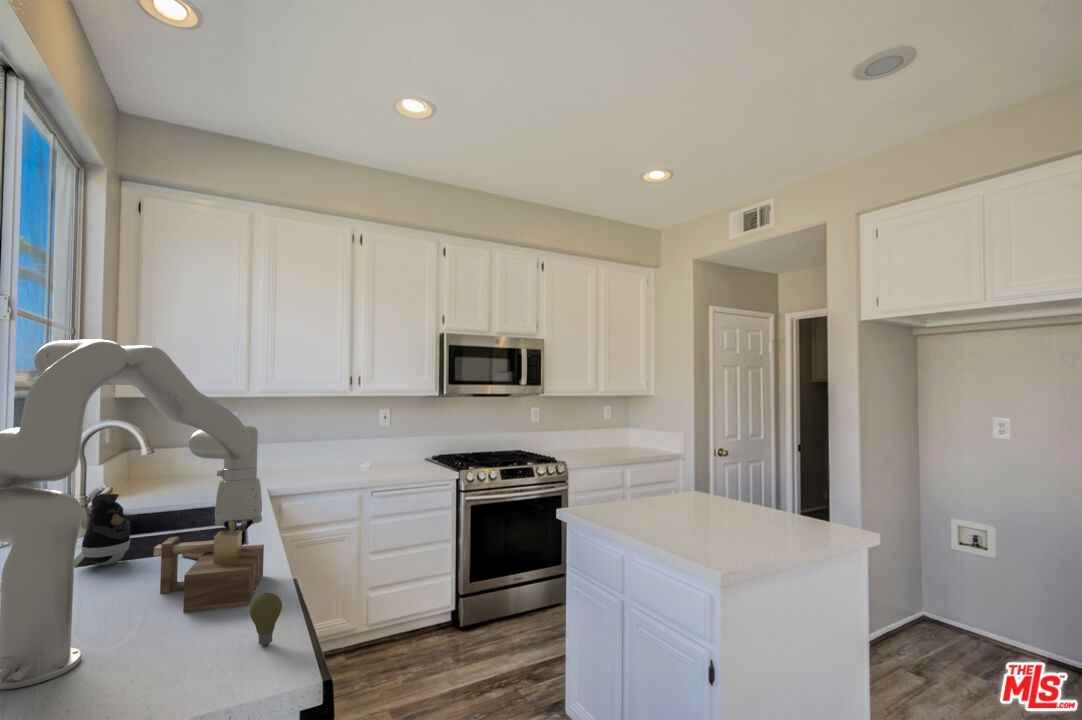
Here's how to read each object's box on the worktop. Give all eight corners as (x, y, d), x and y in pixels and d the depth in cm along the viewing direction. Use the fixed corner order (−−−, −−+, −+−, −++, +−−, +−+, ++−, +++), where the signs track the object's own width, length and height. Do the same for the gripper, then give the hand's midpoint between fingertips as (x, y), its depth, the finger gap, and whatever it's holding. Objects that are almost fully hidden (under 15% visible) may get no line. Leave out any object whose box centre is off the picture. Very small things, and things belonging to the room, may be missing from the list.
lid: (249, 576, 126) (250, 542, 126) (184, 582, 122) (185, 547, 122) (263, 550, 145) (264, 521, 145) (207, 555, 141) (208, 525, 141)
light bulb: (245, 654, 103) (247, 600, 104) (252, 640, 109) (253, 589, 109) (278, 650, 105) (279, 597, 105) (283, 637, 110) (284, 586, 111)
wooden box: (248, 605, 125) (250, 553, 126) (137, 617, 119) (139, 562, 119) (262, 575, 144) (264, 530, 145) (167, 584, 138) (169, 537, 138)
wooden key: (219, 551, 138) (219, 543, 138) (153, 556, 133) (153, 548, 133) (221, 547, 140) (222, 539, 140) (157, 552, 136) (158, 544, 136)
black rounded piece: (102, 573, 145) (105, 497, 146) (69, 570, 148) (72, 495, 148) (139, 560, 156) (142, 489, 157) (108, 557, 158) (111, 487, 159)
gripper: (203, 478, 135) (200, 553, 134) (270, 475, 140) (268, 548, 139) (210, 473, 142) (208, 545, 141) (274, 471, 147) (272, 540, 146)
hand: (238, 546), depth 140 cm, fingers closed
